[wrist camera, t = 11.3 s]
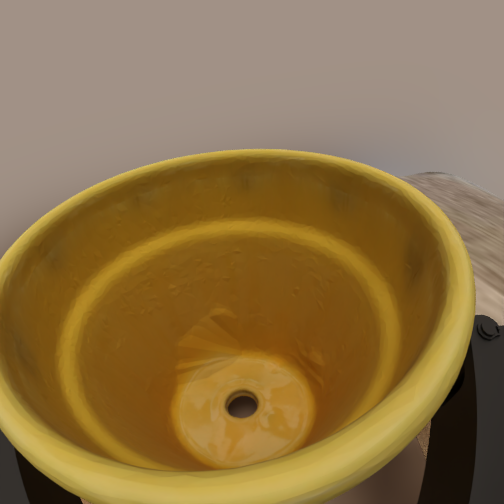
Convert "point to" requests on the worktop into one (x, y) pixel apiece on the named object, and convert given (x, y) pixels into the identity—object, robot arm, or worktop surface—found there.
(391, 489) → the walnut stand
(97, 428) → the plant pot
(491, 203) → the worktop surface
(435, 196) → the worktop surface
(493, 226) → the worktop surface
